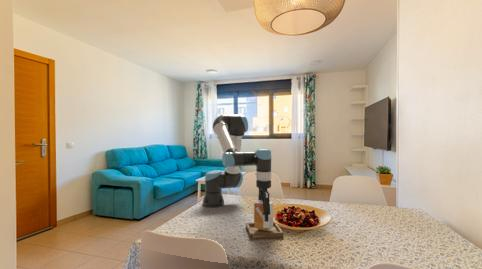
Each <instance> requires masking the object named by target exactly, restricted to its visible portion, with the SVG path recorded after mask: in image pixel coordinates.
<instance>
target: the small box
mask: <svg viewBox="0 0 482 269" xmlns="http://www.w3.org/2000/svg"><path fill="white" fill-rule="evenodd" d="M253 206H254V207H253V208H254V210H253V214H254V216H253V220H254V221H253V223H254V228H257V229H262V230H266V231H269V230H270V229H271V228H272V227H273V222H274V202H273V201H270V215H269V228H263V213H264V210H263V201H262V200H258V199H257V200H256V201H255V202H254V203H253Z"/></svg>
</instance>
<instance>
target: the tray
mask: <svg viewBox="0 0 482 269" xmlns="http://www.w3.org/2000/svg"><path fill="white" fill-rule="evenodd" d="M245 225H246V228H245V229H246V230H247V233H248V236H249V239H250V240H252V241H253V240H263V239H264V240H266V239H281V238H282V239H283V238H284V231H283V230H282V229H281V227H280V226H279V225H278V223H277V224H274V223H273V227H272V228H271V229H270V230H269V231H266V230H262V229H257V228H254V222H247V223H246V224H245Z"/></svg>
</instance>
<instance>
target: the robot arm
mask: <svg viewBox="0 0 482 269" xmlns="http://www.w3.org/2000/svg"><path fill="white" fill-rule="evenodd" d="M212 130H213V133H214V135H216V136H217V139H218V142H219V144H220V146H221V149H222V151H223V153H222V156H221V157H222V158H221V160H222V165H223V167H225V169H224V171H222V170H219V169H217V170H215V169H214V170H210V171H208V172H206V173H205V176H204V178H205V179H204V181H205V182H204V190H205V191H204V196H203V199H202V206H204V207H207V208H218V207H221V206H223V205H224V204H225V199H224V197H223V192H222V189H234V188H240V187H241V186H242V184H243V180H244V176H243V172H242V171H241V168H240V167H249V166H250V167H252V166H254V167H255V166H256V170H255V171H256V173H255V176H256V181H255V182H256V183H255V185H256V188H257V189H258V198H257V201H258V200H262V201H263V210H264V213H263V228H269V215H270V202H271V201H270V193H269V191H268V189H270V188H271V187H272V180H271V179H272V150H271V149H270V148H259V149H257V150H255V151H254V150H252V151H241V150H242V140H243V137H244V136H245V133H247V132H248V130H249V122H248V118H247V116H246V115H242V114H221V115H218V116H217V117H216V118H215V119H214V120H213V122H212Z"/></svg>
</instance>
